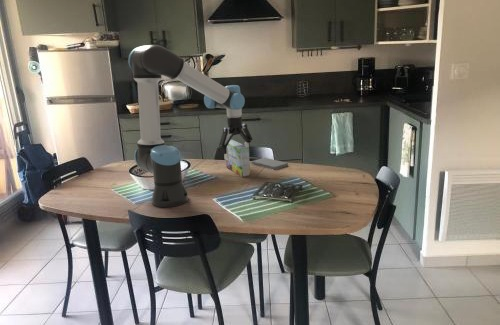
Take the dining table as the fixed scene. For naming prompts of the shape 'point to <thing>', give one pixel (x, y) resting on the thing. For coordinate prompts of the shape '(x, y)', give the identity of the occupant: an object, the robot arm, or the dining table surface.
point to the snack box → (238, 158)
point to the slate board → (269, 163)
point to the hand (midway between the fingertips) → (237, 157)
